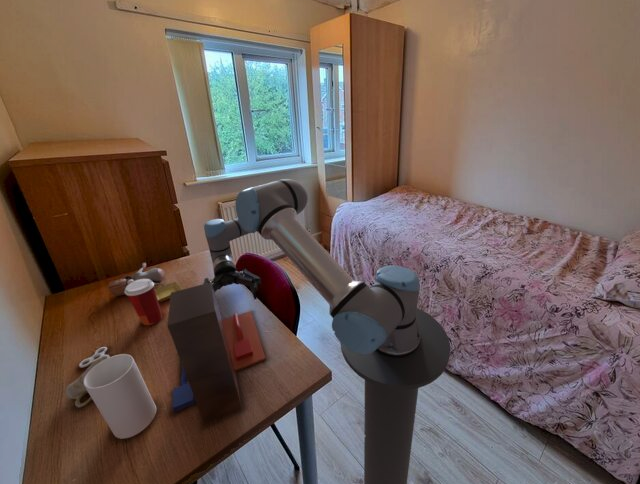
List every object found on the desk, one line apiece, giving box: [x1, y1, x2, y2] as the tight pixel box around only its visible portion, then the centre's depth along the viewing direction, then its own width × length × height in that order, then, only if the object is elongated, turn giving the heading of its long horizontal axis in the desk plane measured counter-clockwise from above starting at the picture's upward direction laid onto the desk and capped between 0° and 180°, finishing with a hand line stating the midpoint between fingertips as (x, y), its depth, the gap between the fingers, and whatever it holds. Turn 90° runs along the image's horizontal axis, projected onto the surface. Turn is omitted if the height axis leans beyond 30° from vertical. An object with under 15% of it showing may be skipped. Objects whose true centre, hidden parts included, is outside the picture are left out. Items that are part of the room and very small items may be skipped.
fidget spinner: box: [78, 346, 111, 368], centre depth 81 cm, size 7×6×1 cm
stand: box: [167, 282, 243, 426], centre depth 63 cm, size 8×11×29 cm
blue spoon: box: [172, 365, 196, 413], centre depth 75 cm, size 19×4×1 cm, turn 27°
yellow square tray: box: [154, 280, 183, 303], centre depth 107 cm, size 9×9×2 cm
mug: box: [65, 357, 107, 408], centre depth 71 cm, size 8×10×10 cm
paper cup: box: [124, 279, 163, 326], centre depth 92 cm, size 8×8×14 cm
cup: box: [84, 353, 157, 439], centre depth 62 cm, size 8×8×16 cm
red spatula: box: [232, 313, 253, 361], centre depth 87 cm, size 19×4×1 cm, turn 27°
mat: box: [222, 311, 266, 372], centre depth 86 cm, size 12×22×1 cm, turn 27°
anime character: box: [108, 262, 167, 297], centre depth 110 cm, size 25×6×18 cm
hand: (232, 302), depth 88 cm, fingers open, 13 cm apart
